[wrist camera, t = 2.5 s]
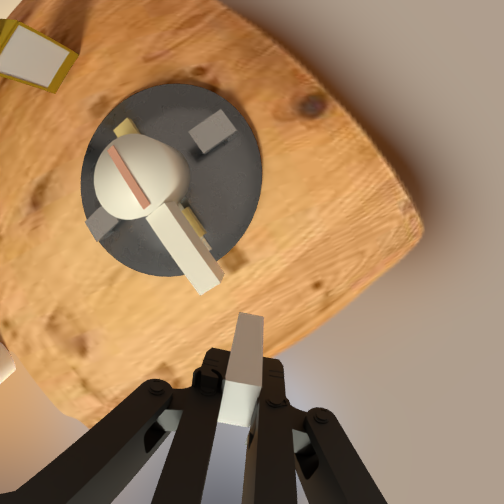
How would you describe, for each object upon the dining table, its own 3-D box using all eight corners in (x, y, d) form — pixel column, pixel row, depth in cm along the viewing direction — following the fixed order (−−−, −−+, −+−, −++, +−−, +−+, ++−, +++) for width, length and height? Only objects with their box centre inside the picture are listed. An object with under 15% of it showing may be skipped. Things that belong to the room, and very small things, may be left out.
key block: (101, 146, 29) (64, 139, 21) (148, 104, 28) (118, 84, 20) (194, 286, 33) (175, 314, 25) (249, 250, 31) (244, 270, 24)
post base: (61, 167, 31) (45, 167, 28) (191, 53, 27) (184, 41, 24) (148, 306, 35) (137, 317, 31) (302, 203, 31) (307, 205, 28)
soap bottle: (99, 27, 26) (10, -39, 3) (55, 93, 28) (-58, 62, 5) (76, 22, 25) (-7, -32, 2) (36, 83, 28) (-64, 56, 5)
